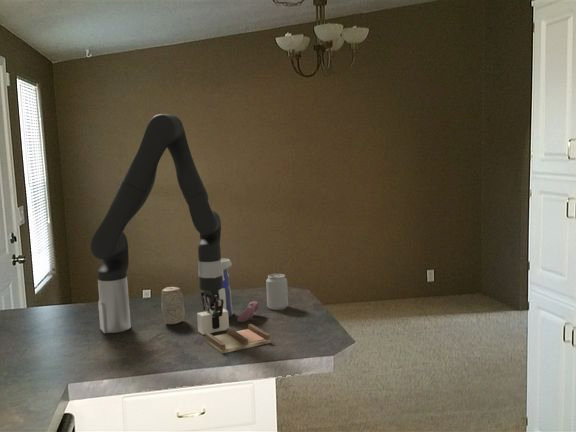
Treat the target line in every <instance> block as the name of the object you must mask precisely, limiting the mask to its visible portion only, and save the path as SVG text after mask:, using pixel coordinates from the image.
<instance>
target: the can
mask: <svg viewBox="0 0 576 432" xmlns="http://www.w3.org/2000/svg"><path fill="white" fill-rule="evenodd" d="M267 277H268V278H267V279H266V280H265V281H266V282H265V284H266V286H265V287H266V306H267V308H268V309H269V310H272V311H281V310H282V311H283V310H285V309H287V307H288V306H289V296H288V295H289V294H288V293H289V292H288V289H289V288H288V279H287V278H286V275H285V274H283V273H272V274H269V275H267Z"/></svg>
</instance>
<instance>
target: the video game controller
mask: <svg viewBox="0 0 576 432" xmlns="http://www.w3.org/2000/svg"><path fill="white" fill-rule="evenodd" d="M260 304H261V303H260V302H258V301H255V300H253V301H250V302H249V303H248V305H247V307H246V308H245V309H244V311H243V312H242V313H241V314H240V315H238V317H237V321H238V322H239V323H245V322H246V321H248V320H249V321H251V320H252V318H254V316H256V315H257V311H258V309H259V307H260Z"/></svg>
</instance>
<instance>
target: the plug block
mask: <svg viewBox="0 0 576 432" xmlns="http://www.w3.org/2000/svg"><path fill="white" fill-rule="evenodd" d="M196 316H197V317H196V318H197V332H198V333H200V334H201V335H203V336H204V335H205V333H208V332H209V333H210V334H213V333H218V332H223V331H227V328H230V324H229V323H230V322H229V317H228V311H227V310H225V309H224V308H223V313H222V316H220V317H219V325H220V327H219V328H218V329H213V328H212V315H211V311H205V310H204V311H200V312H197V313H196Z"/></svg>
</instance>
